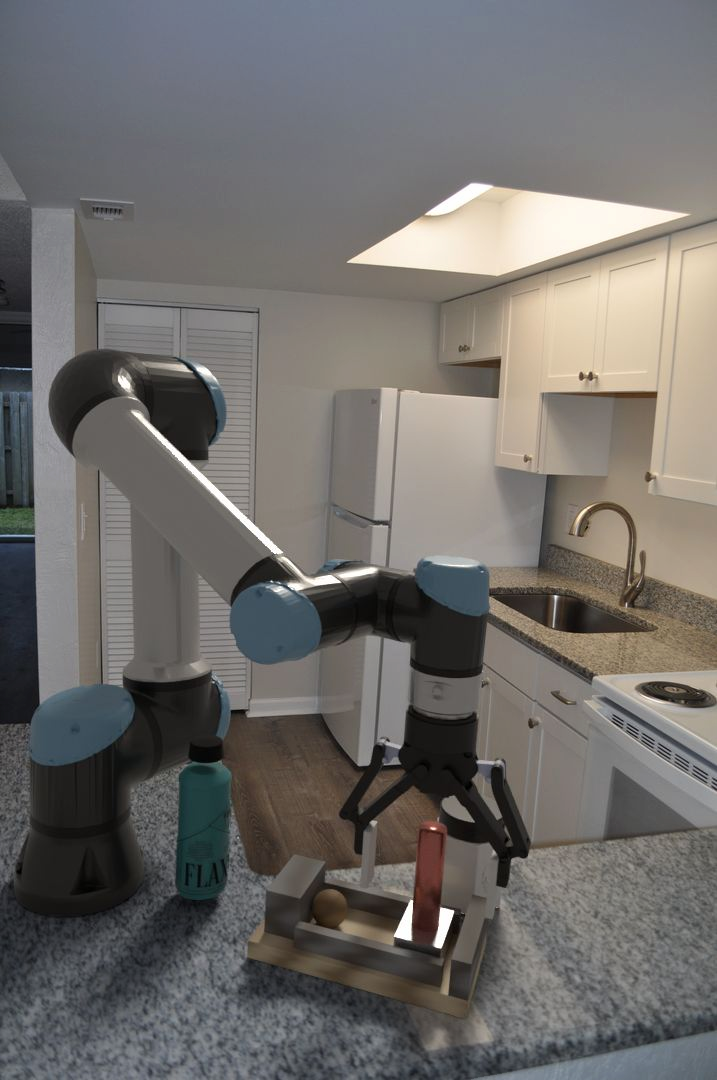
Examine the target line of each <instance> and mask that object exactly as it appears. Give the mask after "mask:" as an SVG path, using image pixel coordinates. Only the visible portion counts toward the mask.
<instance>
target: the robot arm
mask: <svg viewBox="0 0 717 1080" xmlns="http://www.w3.org/2000/svg"><path fill="white" fill-rule="evenodd" d="M47 403H48V404H47V405H48V414H49V418H50V421H51V422H50V423H51V425H52V427H53V430H54V432H55V434H56V435H57V437H58V439H59V441H60V443H61V444H62V445H63V446H64V447H65V448H66V450H67V452H69V453H70V455H72V456H73V458H74V459H76V461H77V462H78V463H79V464H80V465H82V467H84V468H87V469H89V470H95V471H100V472H101V473H102V475H104V477H106V478H107V479H108V481H110V482H111V483H112V485H113V486H114V488H116V489H117V490H118V491H119V492H120V493H121V494H122V495H123V496H124V497H125V498H126V499H127V501H129V510H130V511H129V512H130V515H129V516H130V518H129V520H130V548H131V549H130V550H131V551H130V552H131V553H130V554H131V555H130V558H131V587H132V588H131V589H132V590H131V592H132V593H131V594H132V625H133V628H132V632H133V633H132V634H133V635H132V637H133V658H132V659H131V660H130V661H129V662H128V663H127V664H126V665H125V666H124V667H123V668H122V686H119V685H115V684H109V683H94V684H92V685H90V686H86V685H79V686H74V687H72V688H71V687H70V688H68V689H65V690H62V691H59V692H57V693H55V694H53V695H52V696H50V697H49V696H48V698H46V699H45V700H43V702H42V703H40V704H39V706H38V707H37V708H36V709H35V711H34V713H33V715H32V718H31V722H30V733H29V739H28V741H27V742H28V744H27V749H28V751H27V752H28V755H29V826H28V827H29V828H28V830H27V833H26V836H25V838H24V841H23V843H22V846H21V849H20V852H19V854H18V855H19V856H18V858H17V861H16V864H15V867H14V871H13V894H14V897H15V899H16V901H17V902H18V903H19V904H20V905H21V906H23V908H26V909H28V910H29V911H32V912H34V913H37V914H40V915H44V916H49V917H65V918H66V917H80V916H86V915H87V916H88V915H91V914H95V913H98V912H103V911H106V910H108V909H110V908H113V907H115V906H118V905H119V904H121V903H123V902H124V901H126V900H128V899H129V898H130V897H131V896H132V895H134V893H136V892H137V890H138V889H139V888H140V887H141V884H143V883H142V882H143V880H144V877H145V876H144V872H145V857H144V852H143V851H142V848H141V846H140V844H139V840H138V835H137V833H136V830H135V827H134V824H133V820H132V816H131V815H132V813H131V810H132V809H131V808H132V807H131V806H132V788H133V787H135V786H136V785H139V784H141V783H144V782H145V781H149V780H151V779H154V778H156V777H158V776H161V775H163V774H166V773H167V772H170V771H172V770H175V769H178V768H180V767H182V766H185V765H190V764H191V763H193V762H194V761H192V760H190V759H189V757H188V753H189V747H190V741H191V739H192V738H194V737H197V736H200V735H214V736H218V737H220V738H221V739H222V740H223V741H224V739H225V736H226V735H227V732H228V731H229V730H228V729H229V726H230V722H231V711H232V710H231V702H230V698H229V694H228V692H227V690H224V689H223V688H224V684H223V681H222V680H221V679H220V678H219V677H218V676H217V675H215V674H214V673H213V665H212V663H211V662H210V661H209V660H208V659H206V658H205V657H204V656H203V655H202V653H201V629H200V627H201V626H200V625H201V621H200V618H201V617H200V577H201V578H202V579H203V580H204V581H205V582H206V583H207V584H208V585H209V586H210V587H211V588H212V589H213V591H214V592H216V593H217V595H219V597H220V598H221V599H222V600H223V601H224V602H225V603H226V604H227V605H228V606H229V607H230V612H229V617H228V618H229V620H228V621H229V630H230V633H231V634H232V635H233V637H234V639H235V646H236V648H237V649H238V651H240V653H241V654H242V655H243V656H244V657H245V658H247V659H248V660H250V661H252V662H254V663H255V664H256V663H257V664H259V665H265V666H266V665H267V666H271V665H272V666H273V665H277V664H281V663H286V662H294V661H299V660H302V659H303V658H306V657H308V656H309V655H312V654H315V653H318V652H320V651H324V650H326V649H328V648H331V647H334V646H335V647H336V646H339V645H342V644H346V643H348V642H351V641H355V640H359V639H361V638H363V637H367V636H370V637H371V636H374V637H377V638H382V639H386V640H387V639H388V640H391V641H394V642H399V643H407V644H409V645H410V646H409V647H410V649H409V651H410V652H409V653H410V655H409V668H408V680H407V682H408V683H407V691H406V692H407V693H406V697H407V701H408V705H407V706H406V708H405V709H406V710H405V721H404V735H403V744H397V743H393V742H391V740H390V738H388V737H387V736H381V737H380V738H379V739H378V740H377V742H376V743H375V744H374V746H373V748H372V753H371V757H370V763H369V765H368V766H367V768H366V769H365V771H364V772H363V774H362V776H361V777H360V779H359V780H358V782H357V783H356V785H355V786H354V788H353V790H352V791H351V793H350V794H349V795H348V798H347V799H346V801H345V802H344V804H343V806H342V807H340V810H339V812H338V816H339V818H340V820H343V821H346V820H347V821H349V822H351V823H352V824H353V826H354V829H355V830H354V842H353V851H354V854H355V855H359V856H361V866H360V867H361V868H360V879H359V881H360V882H359V885H360V888H364V889H367V887H370V883H371V882H372V880H373V879H374V877H375V864H376V850H377V848H376V847H377V839H378V838H377V835H378V821H377V820H374V819H376V818H377V817H378V816H379V815H380V814H381V813H383V812H384V811H385V810H386V809H387V808H388V807H389V806H391V805H392V804H393V803H394V802H395V801H396V800H397V799H398V798H400V797H401V796H402V795H404V794H405V793H407V792H408V791H409V790H410V789H411V788H412V787H414V788H416V789H417V790H418V791H419V793H421V794H425V795H429V794H430V795H431V794H434V795H436V796H439V797H441V798H449V796H454V795H455V797H456V798H457V800H458V801H459V803H460V804H461V805H462V806H463V807H465V808H466V810H467V811H468V813H469V814H470V816H471V817H472V818H473V820H474V821H475V823H476V824H477V826H478V827H479V829H480V830H481V832H482V833H483V835H484V836H485V838H486V839H487V841H488V842H489V843H490V845H491V846H492V848H493V849H494V850H493V853H492V856H491V859H490V870H489V881H488V892H487V902H486V913H485V918H488V920H493V918H494V915H495V912H496V909H497V908H496V901H497V891H498V886H499V887H502V888H504V889H506V888H507V886H508V884H509V881H510V877H511V866H512V865H511V864H512V860H513V859H515V858H520V859H527V858H528V857H529V854H530V849H531V845H532V840H531V838H530V835H529V833H528V831H527V827H526V826H525V823H524V820H523V818H522V815H521V813H520V810H519V808H518V807H519V806H518V805H517V803H516V800H515V798H514V796H513V792H512V790H511V787H510V785H509V783H508V780H507V762H506V760H505V759H504V758H503V757H497V758H494V759H495V760H482V759H479V758H478V754H477V743H478V742H477V740H478V729H479V721H480V720H479V719H480V718H479V717H480V716H479V713H478V712H477V710H478V709H479V708H480V706H481V697H482V685H483V677H484V676H483V673H484V671H483V670H484V669H483V668H484V655H485V647H486V646H485V645H486V636H487V630H488V629H487V627H488V619H489V613H490V610H491V605H490V581H491V580H490V579H491V578H490V576H491V575H490V571H489V569H488V567H487V566H486V565H485V564H484V563H482V562H480V561H478V560H476V559H473V558H468V557H463V556H450V555H429V556H425V557H422V558H421V559H420V560H419V561H418V562H417V565H416V570H415V571H411V570H410V571H409V570H403V569H399V568H396V567H395V568H394V567H390V566H384V565H378V564H373V563H370V562H369V563H368V562H364V561H363V560H361V559H360V560H359V559H351V560H348V559H343V558H334V559H330V560H328V561H326V562H325V563H324V564H323V566H322V567H320V568H319V569H317V571H316V572H315V573H314V574H312V573H311V574H308V573H306V572H305V571H304V570H303V569H302V568H301V567H300V566H299V565H297V563H295V562H294V561H293V560H292V559H291V558H290V557H289V556H287V555H286V553H284V552H283V550H281V549H280V548H279V546H277V544H276V543H274V542H273V541H272V539H270V538H269V537H268V536H267V535H266V534H265V533H264V532H263V531H262V530H261V529H260V528H259V527H258V526H257V525H256V524H255V523H253V521H252V520H251V519H250V518H248V517H247V516H246V515H245V514H244V512H242V511H241V510H240V509H239V508H238V507H237V506H236V505H235V503H233V502H232V501H231V500H230V499H229V498H228V497H227V496H226V495H225V494H224V493H223V492H222V491H221V490H219V489H218V487H216V485H214V484H213V483H212V481H210V480H209V478H207V477H206V476H205V475H204V474H203V473H202V472H201V471H202V470H204V469H205V467H206V466H207V465H208V464H209V462H210V460H209V459H210V457H209V456H210V455H209V448H210V447H211V446H213V445H214V444H216V443H217V441H219V439H220V437H221V436H220V434H221V433H222V432H223V433H224V430H225V427H226V423H227V414H228V413H227V410H228V408H227V403H226V398H225V394H224V391H223V388H222V387H221V384H220V383H219V380H218V379H217V378H216V377H215V376H214V375H213V374H212V372H211V371H210V370H209V369H208V368H207V367H205V366H204V365H202V364H201V363H198V362H196V361H193V360H188V359H183V358H181V357H178V356H171V355H161V354H160V355H159V354H150V353H149V354H148V353H142V352H141V353H139V352H132V351H126V350H125V351H124V350H118V349H113V348H96V349H89V350H87V351H84V352H82V353H79V354H77V355H75V356H73V357H72V358H70V359H69V360H68V361H67V362H65V363H64V364H63V365H62V367H60V369H59V370H58V372H57V373H56V375H55V377H54V378H53V380H52V383H51V385H50V389H49V392H48V402H47ZM394 758H397V759H398V762H399V763H400V764H401V766H402V768H403V770H404V771H403V773H402V774H401V775H400V776H399V777H398V778H397V779H396V780H395V781H394V782H392V783H391V784H390V785H389V786H388V787H386V788H385V789H384V790H383V791H382V792H381V793H380V794H378V796H376V797H375V798H374V799H373V800H372V801H371V802H370V803H369V804H367V805H366V806H364V807H363V808H362V807H360V806H358V805H359V804H360V803H361V801H362V799H363V797H364V796H365V795H366V793H367V792H368V790H369V789H370V787H371V786H372V783H373V782H374V781H375V779H376V777H377V776H378V774H379V772H380V771H381V769H382V768H383V766H384V765H385V764H386V765H387V764H389V763H391V762H392V760H393V759H394ZM477 774H481V775H482V776H483V777H484V778H483V779H484V781H485V782H486V783H487V784H490V786H491V791H492V795H493V799H494V800H496V803H497V805H498V808H499V810H500V813H501V815H502V818H503V821H504V823H505V829H506V830H504V829H503V828H502V826H501V825H500V823H499V822H498V820H497V819H496V817H495V816H494V814H493V813H492V812H491V810H490V809H489V807H488V806H487V804H486V803H485V801H484V800H483V798H482V797H481V795H482V794H481V795H480V792H479V790H478V787H477V785H476V783H475V782H474V780H473V778H475V776H476V775H477ZM506 831H507V832H506ZM495 908H496V909H495Z"/></svg>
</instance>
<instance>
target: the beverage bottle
mask: <svg viewBox="0 0 717 1080" xmlns="http://www.w3.org/2000/svg"><path fill="white" fill-rule="evenodd" d="M224 756H225V750H224V739H223V740H222V739H221V738H220V737H218V736H214V735H200V736H197V737H194V738H192V739H191V741H190V747H189V753H188V757H189V759H190V760H192V761H194V762H193V763H191V764H187V766H186V767H184V768H183V769H182V771H180V773H179V774H178V805H177V806H178V807H177V808H178V810H177V816H178V817H177V838H176V841H175V848H176V849H175V850H176V851H175V859H174V862H175V863H174V864H175V868H174V878H173V880H174V886H175V889H176V890H177V893H178V894H179V895H180V896H182V897H183V898H186V899H189V900H197V901H201V900H208V899H212V898H214V897H216V896H218V895H221V894H222V892H224V890H225V889H226V885H227V884H228V881H229V874H230V873H228V870H229V869H230V868H229V867H230V850H231V849H230V845H231V838H230V830H231V825H230V823H231V821H232V819H231V818H232V817H231V815H232V813H231V812H232V807H231V799H232V797H233V796H232V795H231V785H232V777H233V776H232V772H231V771H230V769H229V768H227V766H225V765H224V764H223V763H221V761H222V760H223V759H224Z"/></svg>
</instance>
